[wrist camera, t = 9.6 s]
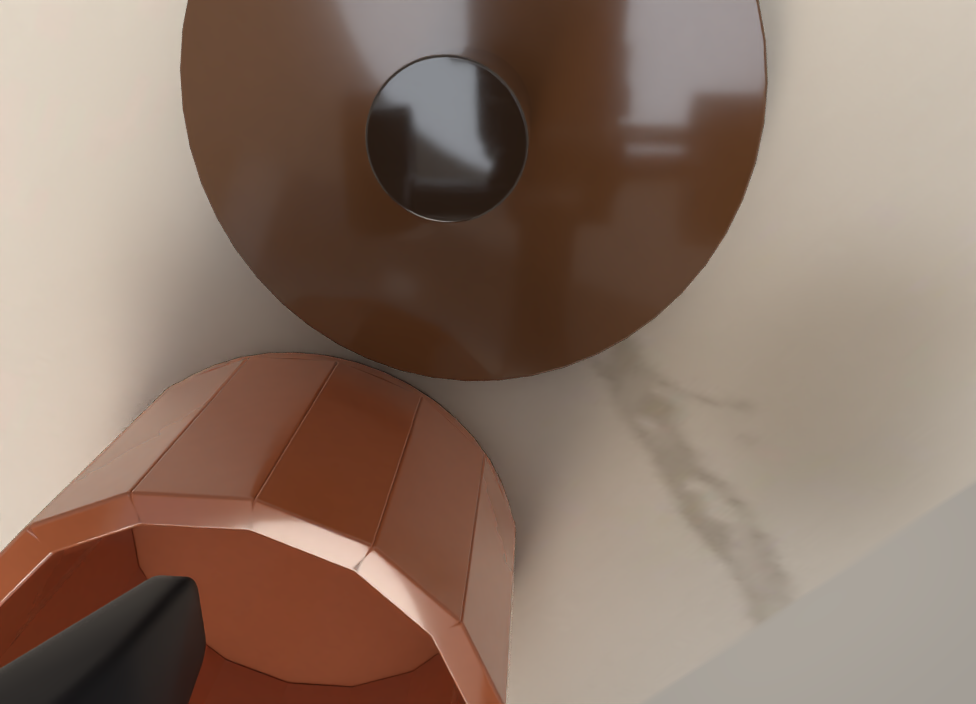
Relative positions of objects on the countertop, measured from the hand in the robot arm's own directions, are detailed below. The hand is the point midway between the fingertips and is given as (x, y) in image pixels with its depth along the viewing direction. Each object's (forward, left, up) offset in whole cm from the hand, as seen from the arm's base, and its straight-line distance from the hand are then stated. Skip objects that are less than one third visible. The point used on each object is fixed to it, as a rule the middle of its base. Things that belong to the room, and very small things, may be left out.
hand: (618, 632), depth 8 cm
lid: (+5, -1, -10) cm, 11 cm away
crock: (0, +10, -11) cm, 15 cm away
